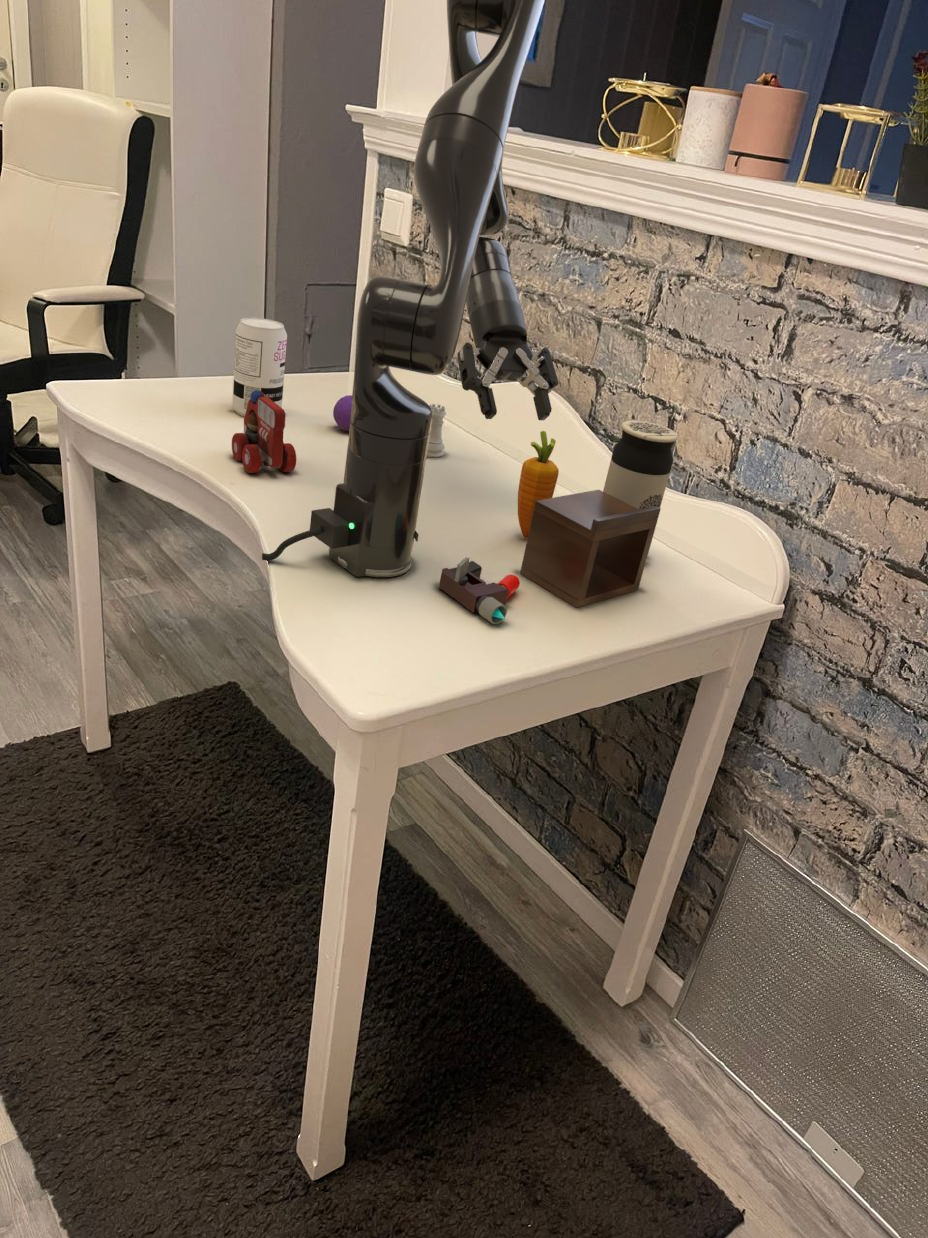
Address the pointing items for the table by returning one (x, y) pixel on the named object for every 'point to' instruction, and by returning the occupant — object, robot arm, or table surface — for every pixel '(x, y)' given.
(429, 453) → the rook chess piece
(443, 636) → the table surface
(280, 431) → the toy fire truck
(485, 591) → the toy gun
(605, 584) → the shelf
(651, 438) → the travel mug
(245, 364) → the supplement can
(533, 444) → the carrot
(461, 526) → the table surface
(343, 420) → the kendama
